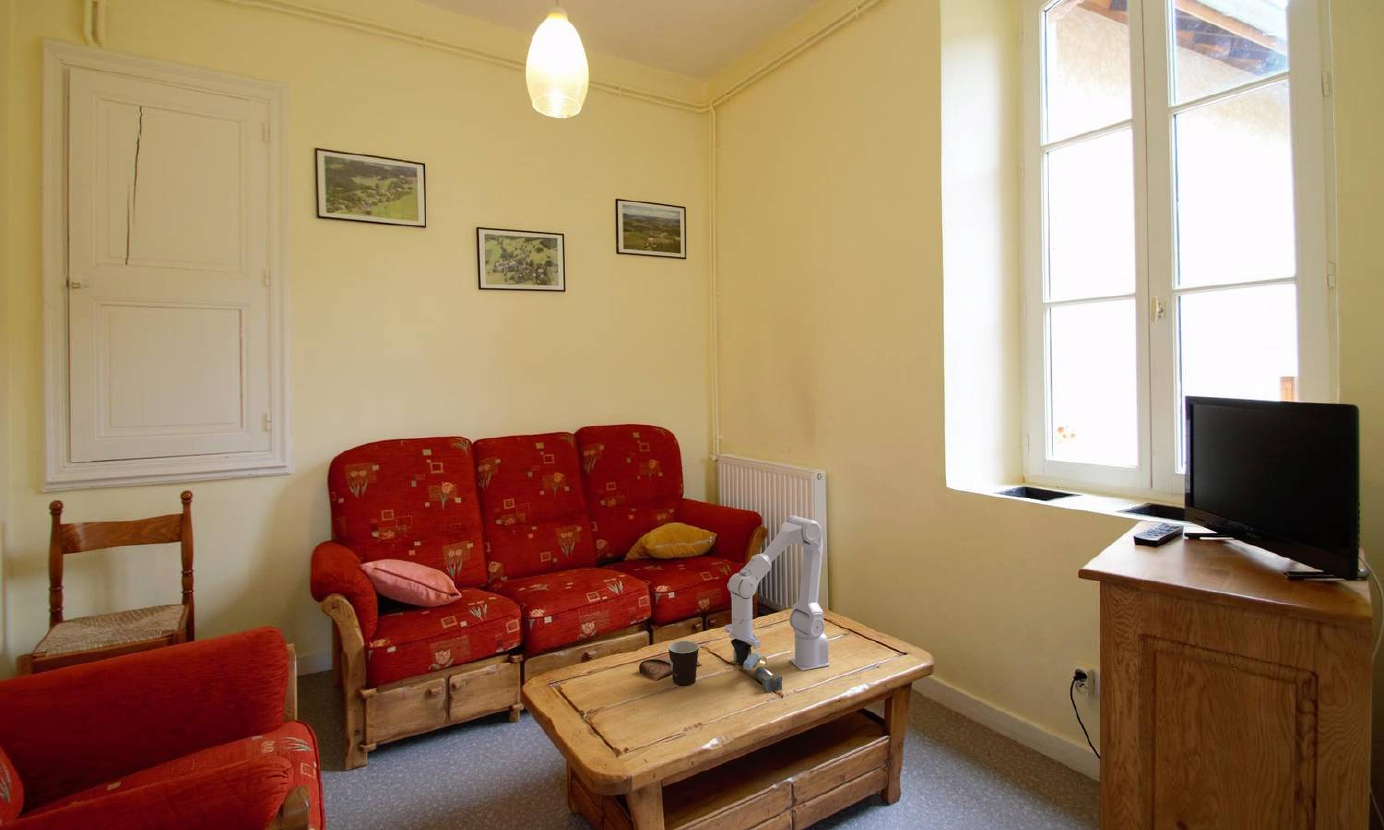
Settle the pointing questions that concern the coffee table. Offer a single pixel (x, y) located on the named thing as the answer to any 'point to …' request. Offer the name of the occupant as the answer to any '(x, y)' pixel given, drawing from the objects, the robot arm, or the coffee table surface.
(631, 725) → the coffee table surface
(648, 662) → the sunglasses case
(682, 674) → the coffee mug
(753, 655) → the lever
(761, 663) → the valve body
